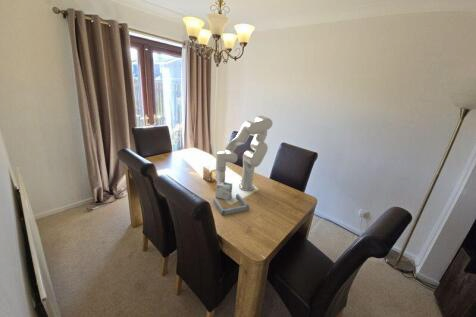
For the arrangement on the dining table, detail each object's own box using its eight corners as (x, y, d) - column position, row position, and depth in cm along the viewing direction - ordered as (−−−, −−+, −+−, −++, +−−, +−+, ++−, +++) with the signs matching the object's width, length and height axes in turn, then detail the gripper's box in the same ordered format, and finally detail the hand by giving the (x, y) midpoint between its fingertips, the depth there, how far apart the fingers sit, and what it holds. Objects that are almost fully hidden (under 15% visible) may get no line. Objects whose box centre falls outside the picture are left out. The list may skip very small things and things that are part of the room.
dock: (213, 201, 145) (213, 198, 144) (237, 197, 153) (238, 193, 152) (222, 215, 130) (222, 211, 129) (248, 209, 139) (249, 205, 138)
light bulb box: (231, 196, 154) (232, 183, 151) (228, 200, 148) (229, 187, 145) (218, 193, 157) (219, 180, 153) (215, 197, 151) (215, 184, 147)
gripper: (212, 164, 158) (211, 185, 164) (219, 172, 145) (218, 194, 151) (221, 164, 161) (220, 184, 167) (229, 171, 149) (227, 193, 155)
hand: (219, 189), depth 159 cm, fingers closed
